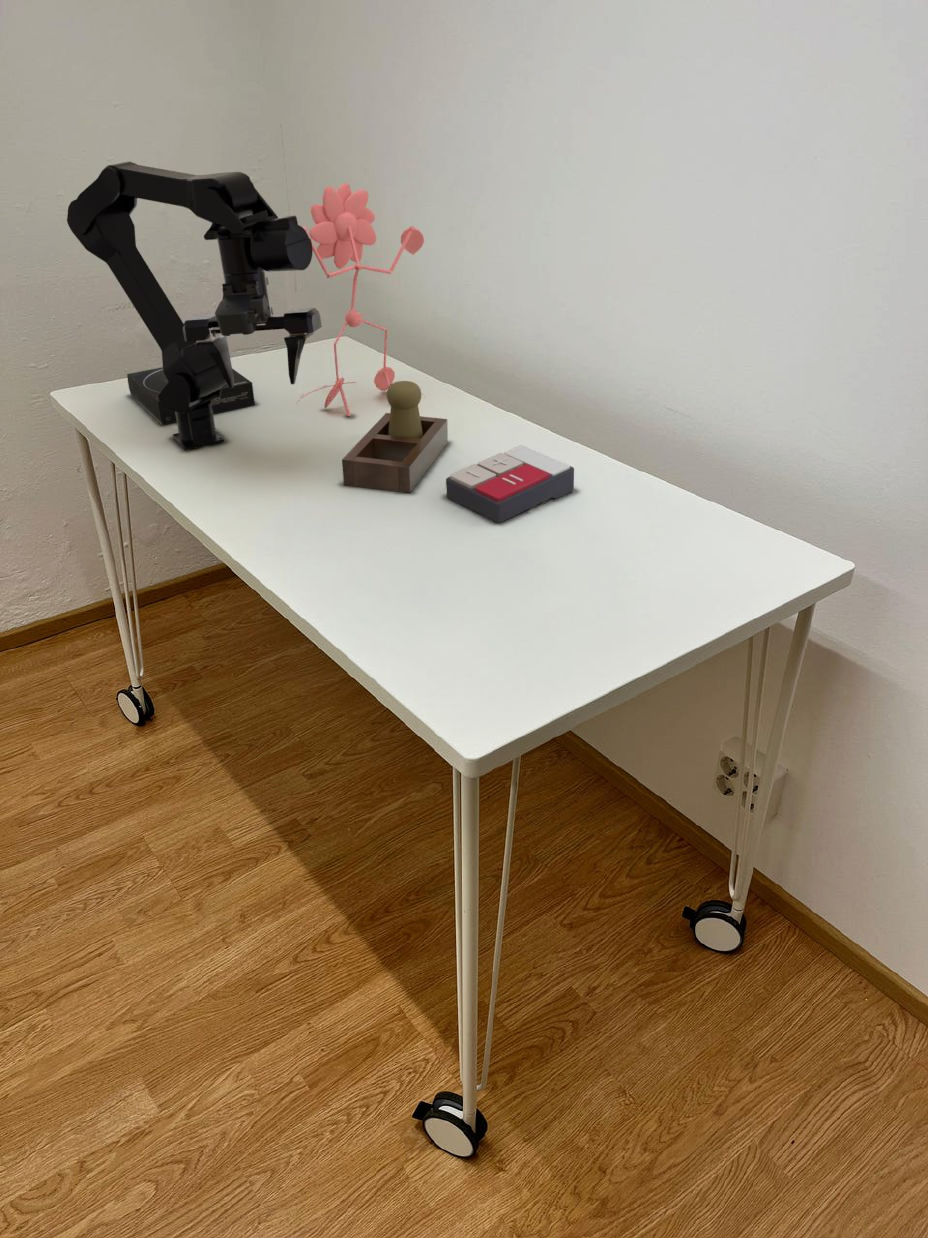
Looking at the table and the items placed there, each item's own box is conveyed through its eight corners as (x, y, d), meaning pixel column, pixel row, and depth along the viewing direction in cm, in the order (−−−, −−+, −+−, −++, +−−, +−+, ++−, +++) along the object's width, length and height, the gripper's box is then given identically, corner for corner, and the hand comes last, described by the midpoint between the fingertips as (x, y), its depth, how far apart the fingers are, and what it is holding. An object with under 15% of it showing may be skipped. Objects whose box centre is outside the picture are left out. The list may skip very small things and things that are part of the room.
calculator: (444, 473, 137) (521, 439, 145) (445, 500, 139) (521, 466, 147) (497, 499, 130) (575, 462, 138) (498, 527, 132) (575, 490, 140)
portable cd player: (218, 377, 181) (215, 355, 179) (255, 404, 169) (252, 382, 167) (130, 394, 174) (125, 372, 172) (162, 425, 162) (157, 402, 160)
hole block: (343, 485, 143) (341, 459, 140) (387, 436, 158) (386, 412, 155) (410, 493, 140) (409, 467, 138) (447, 442, 155) (447, 418, 153)
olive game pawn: (386, 445, 155) (383, 377, 149) (424, 443, 155) (422, 375, 149) (387, 460, 150) (383, 391, 144) (426, 459, 150) (424, 389, 144)
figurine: (437, 395, 173) (433, 180, 154) (309, 430, 160) (287, 200, 141) (389, 372, 183) (379, 168, 164) (265, 402, 170) (239, 185, 151)
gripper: (158, 283, 130) (181, 401, 136) (294, 273, 128) (311, 393, 134) (187, 275, 140) (207, 385, 147) (314, 265, 138) (329, 377, 144)
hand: (262, 385), depth 143 cm, fingers open, 9 cm apart
